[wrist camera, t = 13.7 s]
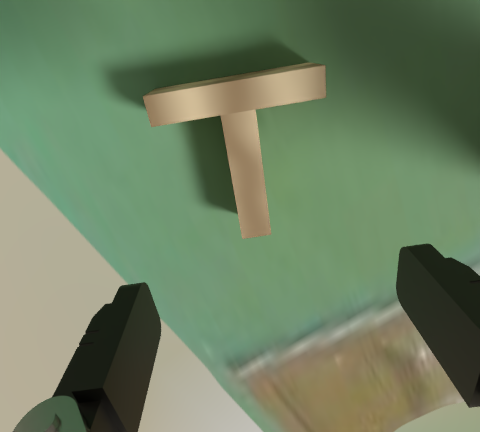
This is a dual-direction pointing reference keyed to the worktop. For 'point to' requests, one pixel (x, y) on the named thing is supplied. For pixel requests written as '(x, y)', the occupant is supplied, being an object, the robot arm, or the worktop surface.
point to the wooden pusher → (240, 123)
